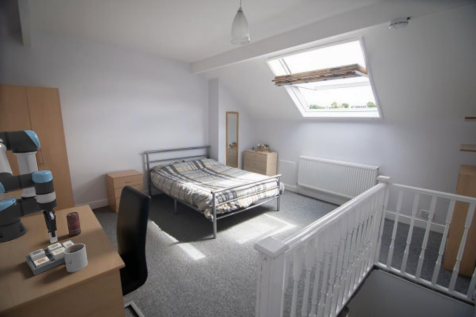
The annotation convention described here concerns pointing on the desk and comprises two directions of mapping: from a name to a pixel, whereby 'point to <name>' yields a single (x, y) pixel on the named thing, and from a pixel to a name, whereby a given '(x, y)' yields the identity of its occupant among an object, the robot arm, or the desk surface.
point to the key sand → (58, 253)
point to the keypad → (53, 262)
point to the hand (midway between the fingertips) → (54, 241)
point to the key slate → (37, 255)
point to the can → (73, 224)
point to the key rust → (41, 262)
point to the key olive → (54, 247)
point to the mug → (75, 257)
